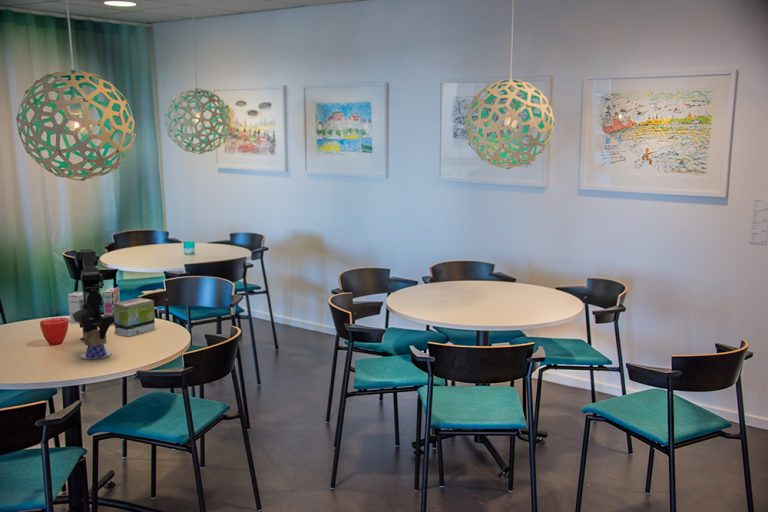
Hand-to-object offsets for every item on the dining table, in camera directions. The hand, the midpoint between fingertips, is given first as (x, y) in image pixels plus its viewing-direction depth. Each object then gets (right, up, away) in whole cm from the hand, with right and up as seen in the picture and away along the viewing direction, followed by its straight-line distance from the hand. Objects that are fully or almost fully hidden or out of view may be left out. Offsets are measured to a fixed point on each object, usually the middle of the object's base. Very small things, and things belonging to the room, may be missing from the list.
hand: (95, 337), depth 283 cm
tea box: (+4, -2, +36) cm, 36 cm away
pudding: (0, -8, +1) cm, 8 cm away
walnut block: (0, -3, 0) cm, 3 cm away
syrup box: (-30, +1, +52) cm, 60 cm away
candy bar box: (-13, +1, +52) cm, 54 cm away
